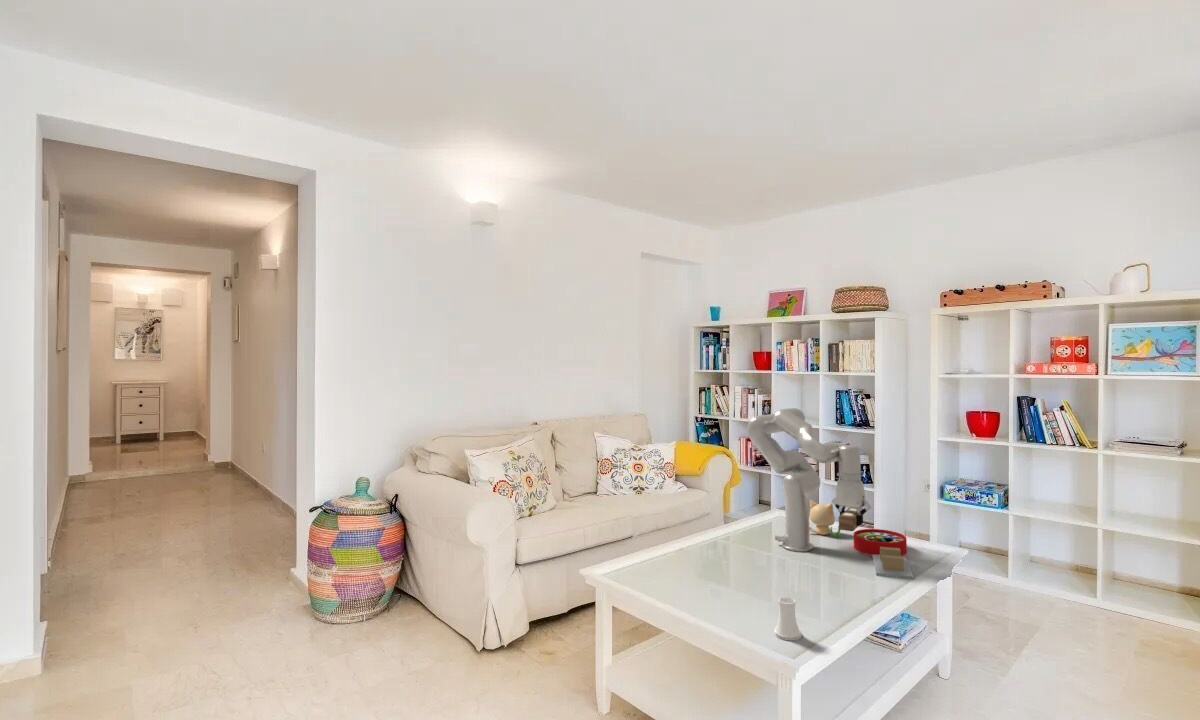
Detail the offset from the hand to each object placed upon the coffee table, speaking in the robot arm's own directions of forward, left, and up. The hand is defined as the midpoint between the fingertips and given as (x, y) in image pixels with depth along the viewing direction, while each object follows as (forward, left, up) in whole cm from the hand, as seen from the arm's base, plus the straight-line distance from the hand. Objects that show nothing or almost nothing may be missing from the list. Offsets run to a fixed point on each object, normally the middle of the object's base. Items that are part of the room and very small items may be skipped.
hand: (851, 523), depth 237 cm
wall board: (+14, -1, -15) cm, 21 cm away
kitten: (-11, +37, -16) cm, 42 cm away
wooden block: (0, 0, -1) cm, 1 cm away
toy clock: (+11, +21, -16) cm, 29 cm away
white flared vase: (-20, -71, -16) cm, 75 cm away
